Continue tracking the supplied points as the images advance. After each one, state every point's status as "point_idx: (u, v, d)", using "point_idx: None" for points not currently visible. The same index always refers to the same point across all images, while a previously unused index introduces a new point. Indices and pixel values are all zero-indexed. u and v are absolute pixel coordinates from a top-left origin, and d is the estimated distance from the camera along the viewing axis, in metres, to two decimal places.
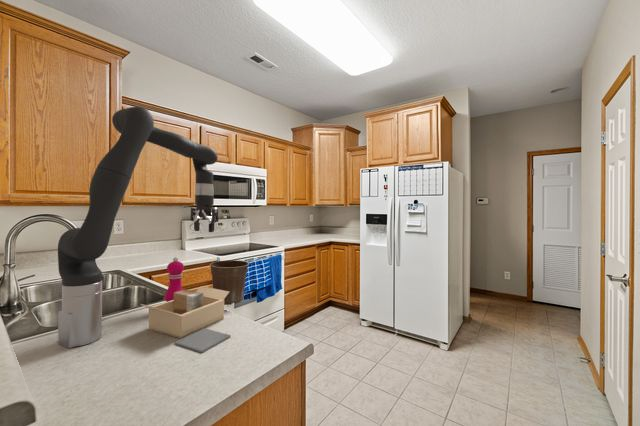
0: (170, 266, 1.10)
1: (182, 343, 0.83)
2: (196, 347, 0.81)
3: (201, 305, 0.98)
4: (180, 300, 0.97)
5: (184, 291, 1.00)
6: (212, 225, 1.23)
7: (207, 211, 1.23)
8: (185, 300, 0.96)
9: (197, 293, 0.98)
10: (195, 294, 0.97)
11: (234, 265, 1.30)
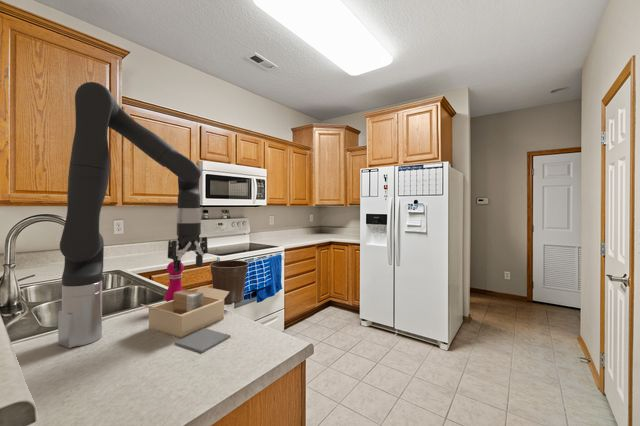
0: (170, 266, 1.10)
1: (182, 343, 0.83)
2: (196, 347, 0.81)
3: (201, 305, 0.98)
4: (180, 300, 0.97)
5: (184, 291, 1.00)
6: None
7: (198, 242, 1.00)
8: (185, 300, 0.96)
9: (197, 293, 0.98)
10: (195, 294, 0.97)
11: (234, 265, 1.30)
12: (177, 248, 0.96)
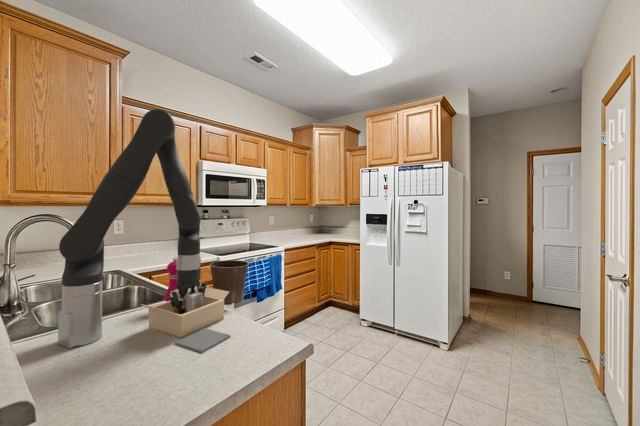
0: (170, 266, 1.10)
1: (182, 343, 0.83)
2: (196, 347, 0.81)
3: (201, 305, 0.98)
4: None
5: None
6: None
7: (197, 288, 1.01)
8: None
9: (197, 293, 0.98)
10: (195, 294, 0.97)
11: (234, 265, 1.30)
12: None
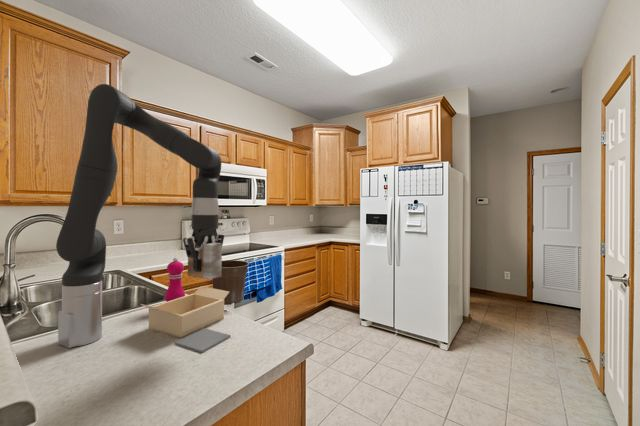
0: (170, 266, 1.10)
1: (182, 343, 0.83)
2: (196, 347, 0.81)
3: (220, 256, 0.86)
4: None
5: None
6: None
7: (214, 239, 0.88)
8: None
9: (215, 243, 0.86)
10: (213, 243, 0.85)
11: (234, 265, 1.30)
12: (194, 245, 0.85)
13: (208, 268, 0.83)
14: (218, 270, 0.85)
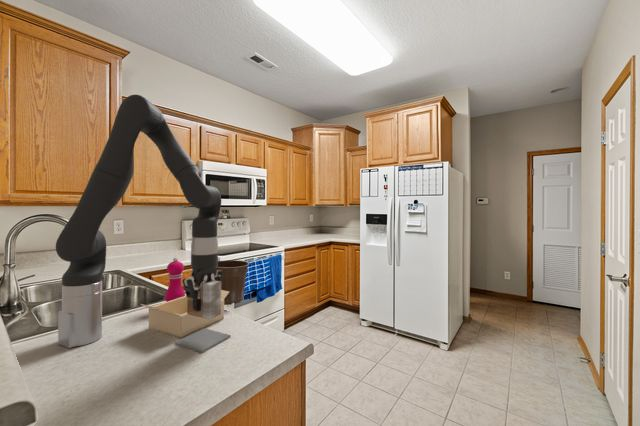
0: (170, 266, 1.10)
1: (182, 343, 0.83)
2: (196, 347, 0.81)
3: (219, 295, 0.86)
4: None
5: None
6: None
7: (214, 276, 0.88)
8: None
9: (214, 281, 0.86)
10: (212, 282, 0.85)
11: (234, 265, 1.30)
12: (193, 284, 0.85)
13: (207, 308, 0.83)
14: (218, 309, 0.85)
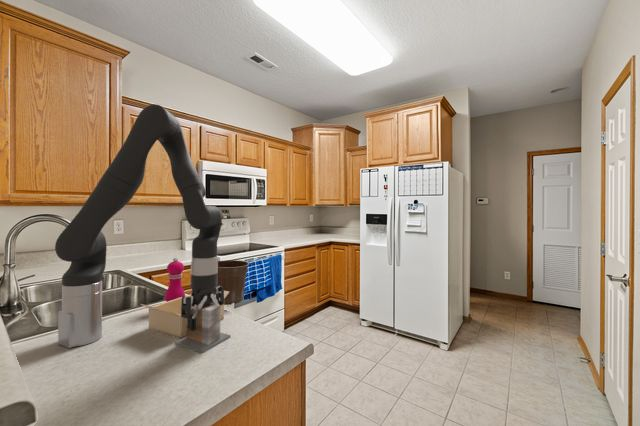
0: (170, 266, 1.10)
1: (182, 343, 0.83)
2: (196, 347, 0.81)
3: (218, 319, 0.86)
4: None
5: None
6: None
7: (214, 293, 0.89)
8: (200, 314, 0.84)
9: (214, 306, 0.86)
10: (212, 307, 0.85)
11: (234, 265, 1.30)
12: (191, 303, 0.84)
13: (206, 334, 0.83)
14: (217, 333, 0.85)
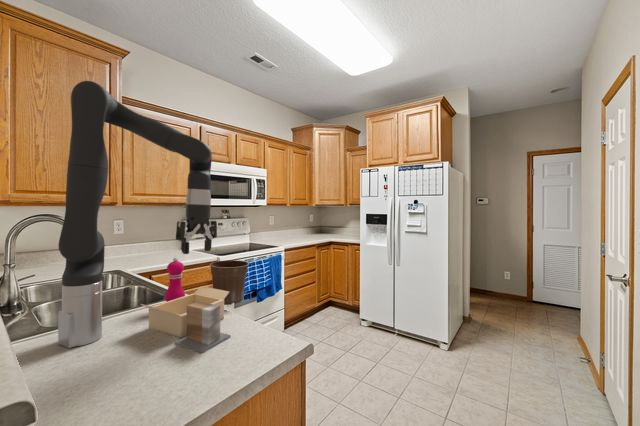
0: (170, 266, 1.10)
1: (182, 343, 0.83)
2: (196, 347, 0.81)
3: (218, 319, 0.86)
4: (194, 314, 0.85)
5: (198, 303, 0.88)
6: None
7: (207, 225, 0.97)
8: (200, 314, 0.84)
9: (214, 306, 0.86)
10: (212, 307, 0.85)
11: (234, 265, 1.30)
12: (186, 230, 0.93)
13: (206, 334, 0.83)
14: (217, 333, 0.85)
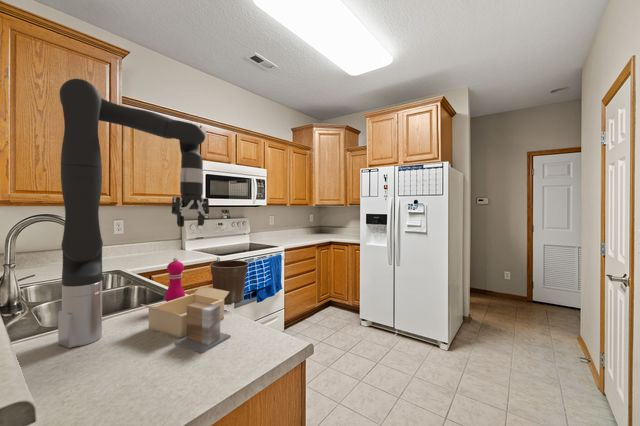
0: (170, 266, 1.10)
1: (182, 343, 0.83)
2: (196, 347, 0.81)
3: (218, 319, 0.86)
4: (194, 314, 0.85)
5: (198, 303, 0.88)
6: None
7: (200, 202, 1.07)
8: (200, 314, 0.84)
9: (214, 306, 0.86)
10: (212, 307, 0.85)
11: (234, 265, 1.30)
12: None
13: (206, 334, 0.83)
14: (217, 333, 0.85)
